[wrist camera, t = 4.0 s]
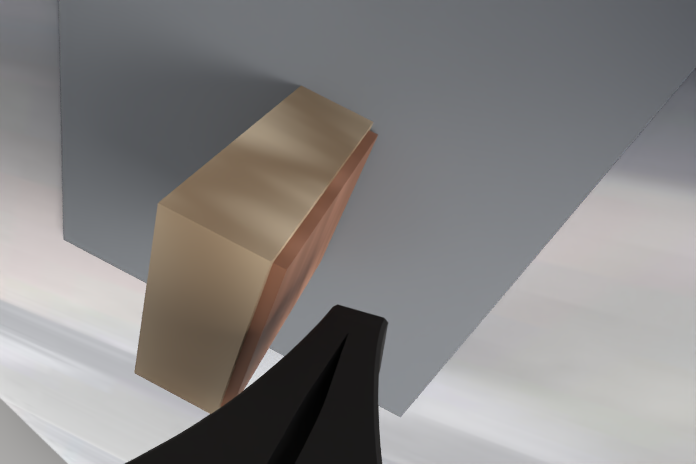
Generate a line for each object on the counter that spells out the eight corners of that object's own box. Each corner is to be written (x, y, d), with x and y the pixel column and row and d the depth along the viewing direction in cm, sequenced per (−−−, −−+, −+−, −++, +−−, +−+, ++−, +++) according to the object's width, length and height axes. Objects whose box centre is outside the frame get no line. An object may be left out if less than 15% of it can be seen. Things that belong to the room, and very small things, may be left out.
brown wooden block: (382, 126, 15) (285, 269, 9) (320, 262, 19) (225, 421, 13) (301, 85, 15) (157, 203, 9) (255, 229, 19) (134, 373, 13)
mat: (731, 15, 11) (736, 19, 11) (402, 409, 22) (400, 417, 22) (65, -306, 12) (52, -311, 11) (70, 234, 23) (63, 239, 23)
